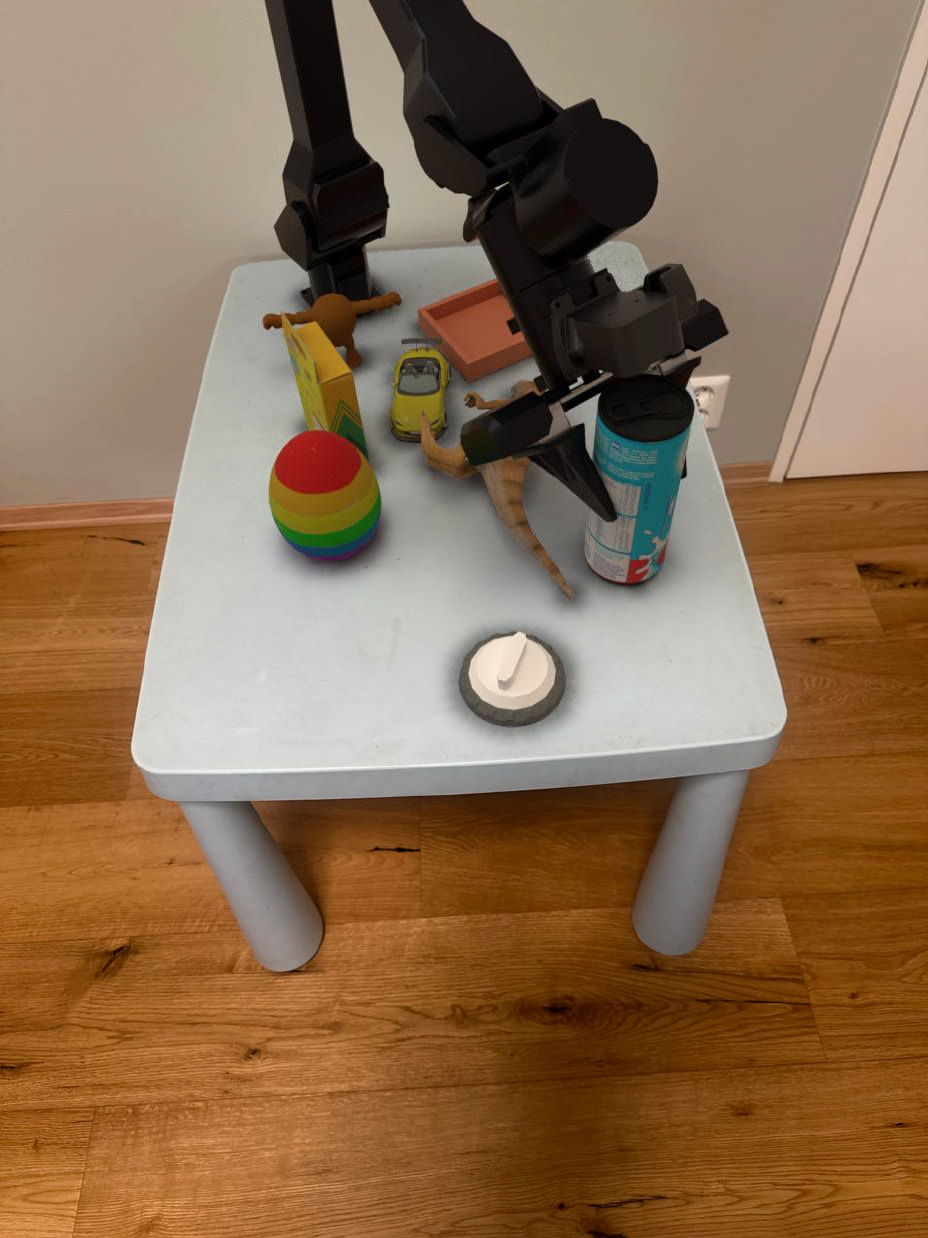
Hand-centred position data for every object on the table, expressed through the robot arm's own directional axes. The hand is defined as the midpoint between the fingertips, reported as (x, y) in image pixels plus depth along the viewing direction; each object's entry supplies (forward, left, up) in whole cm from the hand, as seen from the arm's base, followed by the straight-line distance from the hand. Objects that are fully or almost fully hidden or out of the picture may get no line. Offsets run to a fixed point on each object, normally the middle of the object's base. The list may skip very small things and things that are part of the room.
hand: (646, 499), depth 63 cm
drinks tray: (-29, +5, -8) cm, 31 cm away
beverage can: (-1, 0, -8) cm, 8 cm away
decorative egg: (-15, -18, -8) cm, 25 cm away
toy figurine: (-33, -8, -8) cm, 35 cm away
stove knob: (+3, -13, -8) cm, 15 cm away
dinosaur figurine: (-13, -4, -8) cm, 15 cm away
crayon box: (-24, -13, -8) cm, 28 cm away
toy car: (-25, -5, -8) cm, 27 cm away
